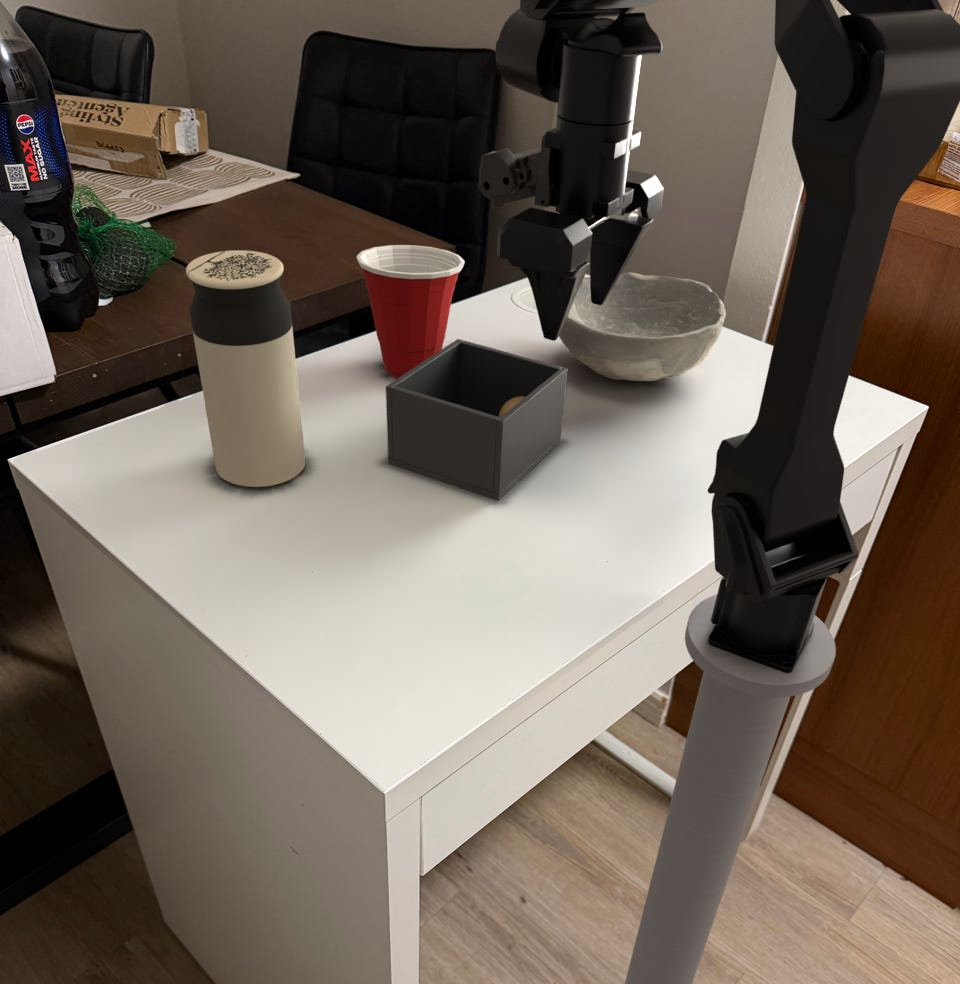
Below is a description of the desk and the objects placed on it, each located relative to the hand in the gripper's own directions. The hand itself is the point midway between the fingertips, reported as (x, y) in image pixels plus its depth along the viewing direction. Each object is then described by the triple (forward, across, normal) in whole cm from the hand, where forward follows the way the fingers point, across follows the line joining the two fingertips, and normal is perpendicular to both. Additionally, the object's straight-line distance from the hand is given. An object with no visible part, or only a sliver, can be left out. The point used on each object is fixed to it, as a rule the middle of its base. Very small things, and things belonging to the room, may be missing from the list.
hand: (574, 320), depth 81 cm
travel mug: (+13, +17, -22) cm, 31 cm away
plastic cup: (+13, -8, -22) cm, 27 cm away
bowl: (+13, -21, -2) cm, 25 cm away
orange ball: (+9, +2, -5) cm, 11 cm away
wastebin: (+13, +4, -7) cm, 15 cm away
